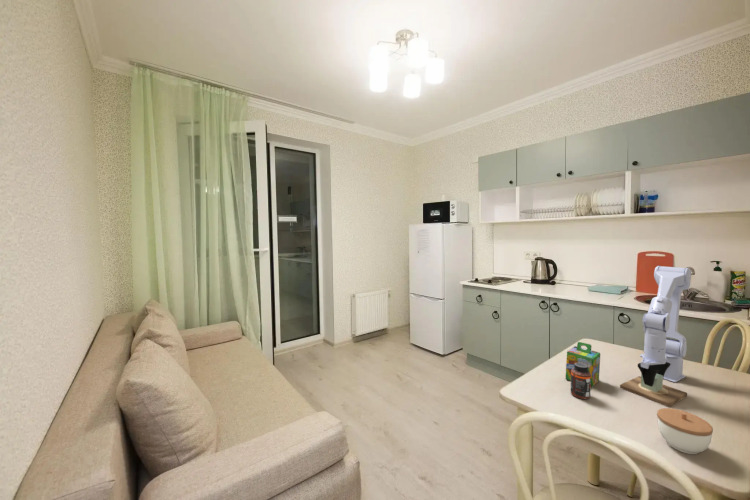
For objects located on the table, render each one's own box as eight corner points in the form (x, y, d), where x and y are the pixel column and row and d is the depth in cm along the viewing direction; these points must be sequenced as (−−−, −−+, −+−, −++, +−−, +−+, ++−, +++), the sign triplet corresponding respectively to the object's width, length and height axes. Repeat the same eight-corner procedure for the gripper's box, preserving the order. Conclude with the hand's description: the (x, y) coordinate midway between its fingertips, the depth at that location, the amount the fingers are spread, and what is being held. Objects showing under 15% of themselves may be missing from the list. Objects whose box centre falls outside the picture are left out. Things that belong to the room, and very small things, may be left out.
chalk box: (565, 379, 121) (565, 343, 120) (573, 372, 127) (574, 337, 126) (592, 388, 114) (593, 350, 113) (600, 380, 120) (601, 344, 119)
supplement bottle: (593, 400, 106) (594, 369, 106) (574, 399, 108) (575, 368, 107) (585, 391, 112) (586, 361, 111) (567, 390, 113) (568, 360, 113)
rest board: (639, 379, 121) (639, 375, 120) (687, 396, 108) (687, 392, 108) (620, 387, 114) (620, 384, 114) (668, 407, 102) (669, 403, 102)
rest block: (646, 383, 115) (647, 370, 114) (662, 388, 110) (662, 375, 110) (640, 386, 113) (641, 373, 112) (656, 392, 108) (656, 378, 108)
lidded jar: (645, 434, 89) (647, 403, 88) (679, 431, 90) (680, 401, 89) (685, 462, 78) (687, 427, 78) (723, 459, 79) (725, 424, 78)
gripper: (650, 339, 117) (649, 373, 118) (631, 346, 110) (629, 382, 111) (675, 345, 110) (673, 381, 111) (655, 353, 104) (653, 391, 105)
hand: (653, 382), depth 111 cm, fingers open, 6 cm apart
